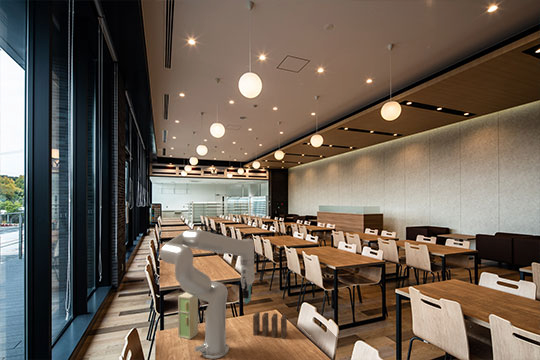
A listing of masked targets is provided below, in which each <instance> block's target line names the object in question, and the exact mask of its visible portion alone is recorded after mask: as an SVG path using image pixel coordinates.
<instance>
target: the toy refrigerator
mask: <svg viewBox="0 0 540 360" xmlns="http://www.w3.org/2000/svg"><path fill="white" fill-rule="evenodd" d="M177 300H178V301H177V309H178V310H177V311H178V312H177V314H178V315H177V317H178V319H177V320H178V321H177V323H178V325H177V326H178V327H177V328H178V329H177V332H178V333H177V335H178V336H177V337H178V338H182V339H186V340H192V339H193V338H194V337H196V336H197V335H198V334H199V309H198V308H199V299H198V298H196V297H194V296H192V295H191V294H189V293H187V292H184V293H182V294H180V295H178V297H177Z"/></svg>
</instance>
